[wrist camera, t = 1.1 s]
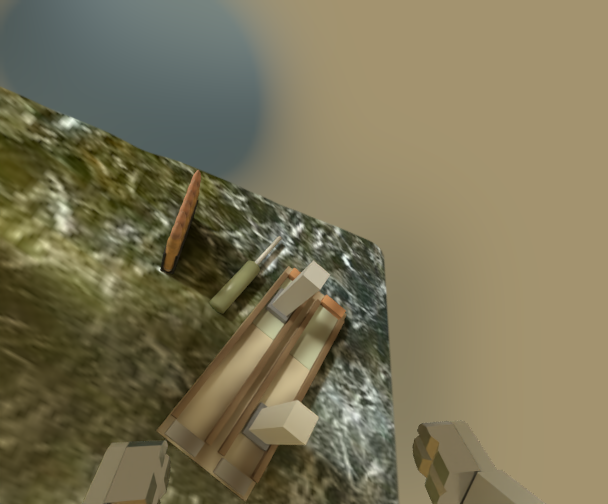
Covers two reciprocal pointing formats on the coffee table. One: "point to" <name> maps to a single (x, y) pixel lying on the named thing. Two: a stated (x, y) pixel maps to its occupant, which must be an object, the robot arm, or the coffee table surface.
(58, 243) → the coffee table surface
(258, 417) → the beige rectangular pillar
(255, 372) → the wooden double track board
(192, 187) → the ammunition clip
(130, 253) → the coffee table surface
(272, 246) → the screwdriver
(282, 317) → the pillar on grey base
